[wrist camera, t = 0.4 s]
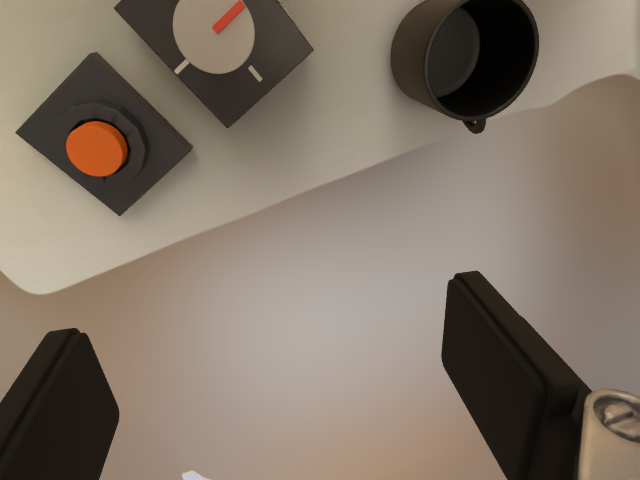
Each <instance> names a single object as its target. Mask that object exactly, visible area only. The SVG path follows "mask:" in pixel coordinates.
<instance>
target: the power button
mask: <svg viewBox="0 0 640 480" xmlns="http://www.w3.org/2000/svg"><path fill="white" fill-rule="evenodd" d="M66 150H67V154H68V157H69V159H70V160H71V162H72V163H73V164H74V165H75V166H76V167H77V168H78V169H79V170H81V171H82V172H84V173H86V174H89V175H92V176H98V177H99V176H107V175H110V174H112V173H114V172H115V171H116V170H117V169H118V168H119V167H120V166H121V165H122V164H123V163H124V161H125V160H126V157H127V153H128V148H127V144H126V141H125V139H124V137H123V135H122V134H121V133H120V132H119V131H118V130H117V129H116V128H114V127H113V126H111V125H109V124H107V123H104V122H99V121H92V122H87V123H85V124H83V125H81V126H80V127H78V128H76V129H75V130H73V131H72V132H71V133H70V135H69V136H68V139H67V142H66Z"/></svg>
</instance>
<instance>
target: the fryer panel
mask: <svg viewBox="0 0 640 480" xmlns="http://www.w3.org/2000/svg"><path fill="white" fill-rule="evenodd" d="M179 1H180V0H121V1H120V2H119V3H118V4H117V5H116V6H115V7H114V9H115V10H116V11H117V12H118V13H119V15H120V16H121V17H122V18H123V19H124V20H125V21H126V22H127V23H128V24H129V25H130V26H131V27H132V28H133V29H134V30H135V31H136V33H137V34H138V35H139V36H140V37H141V38H142V39H143V40H144V41H145V42H146V43H147V44H148V45H149V46H150V47H151V48H152V49H153V50H154V52H155V53H156V54H157V55H158V56H159V57H160V58H161V59H162V60H163V61H164V62H165V63H166V64H167V65H168V66H169V67H170V68H171V69H172V71H173V72H174V73H175V74H176V75H177V76H178V77H179V78H180V79H181V80H182V81H183V82H184V83H185V84H186V85H187V86H188V87H189V89H190V90H191V91H192V92H193V93H194V94H195V95H196V96H197V97H198V98H199V99H200V100H201V101H202V102H203V103H204V104H205V105H206V106H207V108H208V109H209V110H210V111H211V112H212V113H213V114H214V115H215V116H216V117H217V118H218V119H219V120H220V121H221V122H222V123H223V124H224V125H225V127H226V128H229V127H230V126H232V125H233V124H234V123H235V122H236V121H237V120H238V119H239V118H240V117H241V116H242V115H244V114H245V113H246V112H247V111H248V110H249V109H250V108H251V107H252V106H253V105H254V104H256V103H257V102H258V101H259V100H260V99H261V98H262V97H263V96H264V95H265V94H267V93H268V92H269V91H270V90H271V89H272V88H273V87H274V86H275V85H276V84H277V83H279V82H280V81H281V80H282V79H283V78H284V77H285V76H286V75H287V74H288V73H289V72H291V71H292V70H293V69H294V68H295V67H296V66H297V65H298V64H299V63H300V62H302V61H303V60H304V59H305V58H306V57H307V56H308V55H309V54H310V53H311V52H312V51H313V48H312V47H311V45H310V44H309V43H308V41H307V40H306V39H305V37H304V36H303V35H302V33H301V32H300V31H299V29H298V28H297V27H296V25H295V24H294V22H293V21H292V20H291V18H290V17H289V16H288V14H287V13H286V12H285V10H284V9H283V8H282V6H281V5H280V4H279V2H278V1H277V0H242V1H243V2H244V4H245V5H246V7H247V8H248V10H249V12H250V14H251V17H252V20H253V23H254V30H255V38H254V45H253V48H252V51H251V53H250V55H249V57H248V58H247V60H246V61H245V62H244V63H243V64H242V65H241V66H240V67H239V68H237V69H236V70H234V71H231V72H228V73H224V74H213V73H208V72H205V71H203V70H200V69H198V68H197V67H195V66H194V65H192V64H191V63H190V62H189V61H188V60H187V59H186V58H185V57H184V55H183V54H182V53H181V51H180V50H179V48H178V45H177V43H176V40H175V37H174V33H173V16H174V12H175V9H176V6H177V4H178V2H179Z"/></svg>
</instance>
